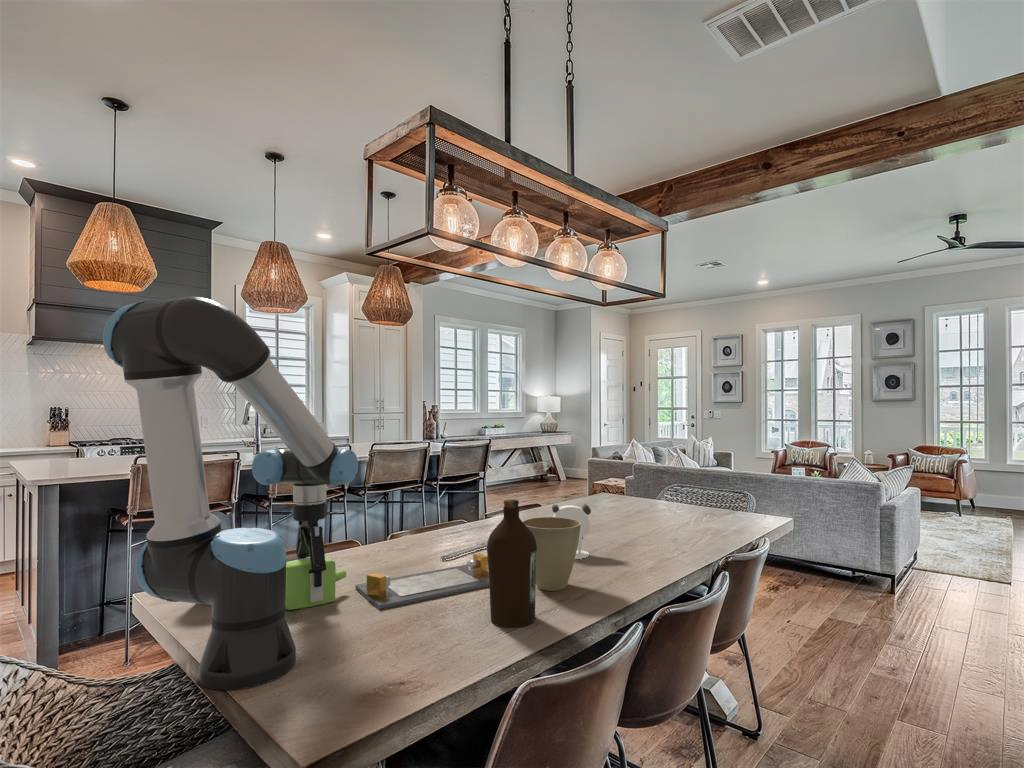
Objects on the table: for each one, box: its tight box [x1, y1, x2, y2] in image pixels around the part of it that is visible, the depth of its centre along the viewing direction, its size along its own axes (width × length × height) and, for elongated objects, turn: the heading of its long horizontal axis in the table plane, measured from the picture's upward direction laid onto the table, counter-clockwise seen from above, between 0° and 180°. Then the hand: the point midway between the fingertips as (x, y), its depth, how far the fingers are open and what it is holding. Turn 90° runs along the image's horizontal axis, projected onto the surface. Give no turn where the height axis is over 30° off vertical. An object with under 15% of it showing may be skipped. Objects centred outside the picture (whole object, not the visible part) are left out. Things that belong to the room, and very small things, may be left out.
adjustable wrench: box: [440, 539, 488, 560], centre depth 174 cm, size 25×6×2 cm, turn 138°
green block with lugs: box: [285, 557, 347, 611], centre depth 131 cm, size 18×10×10 cm, turn 126°
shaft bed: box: [355, 552, 489, 610], centre depth 140 cm, size 18×33×6 cm, turn 123°
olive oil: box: [486, 498, 537, 629], centre depth 117 cm, size 11×11×25 cm
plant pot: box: [521, 516, 581, 592], centre depth 139 cm, size 15×15×16 cm
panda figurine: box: [551, 504, 592, 560], centre depth 169 cm, size 12×11×15 cm
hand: (309, 592), depth 131 cm, fingers open, 13 cm apart
